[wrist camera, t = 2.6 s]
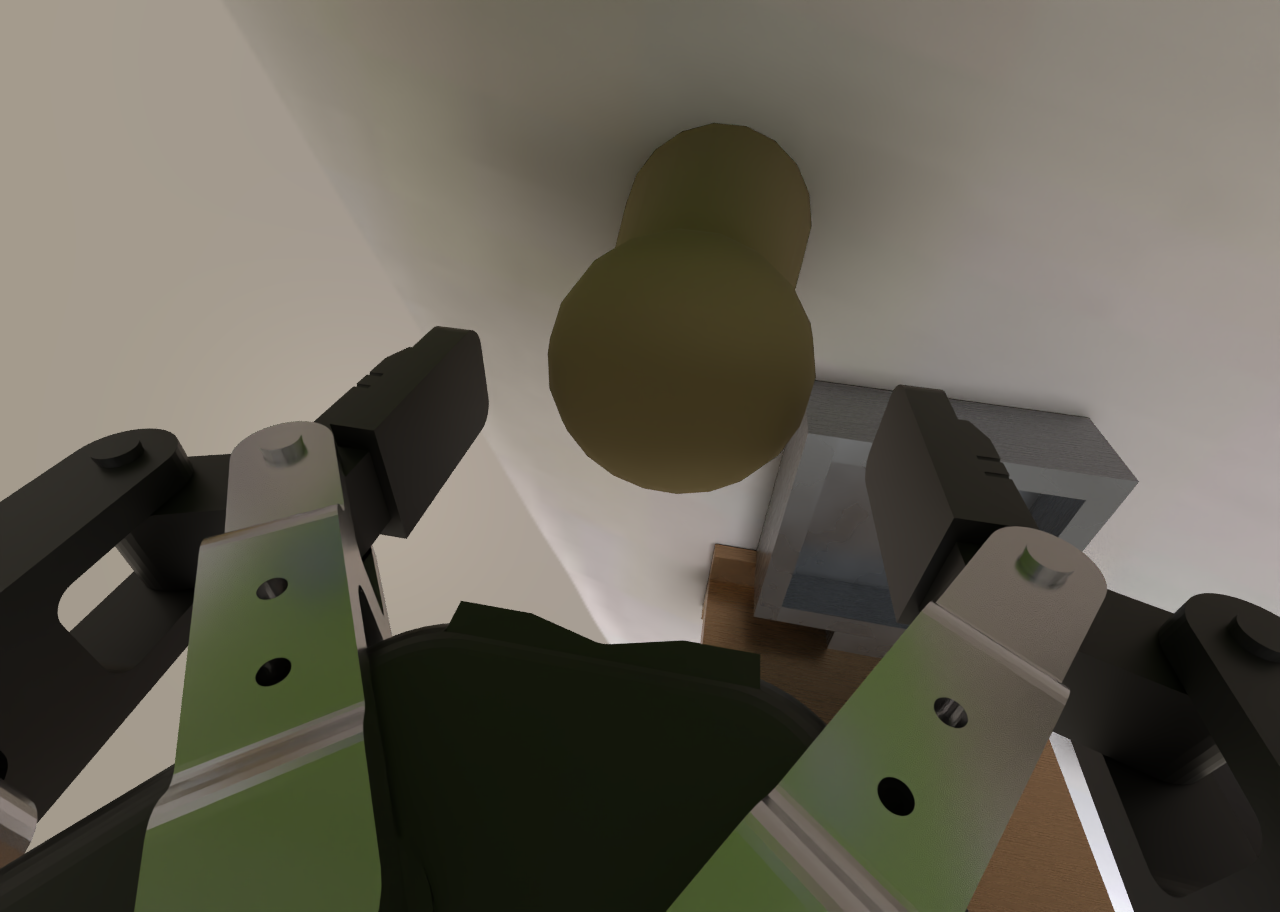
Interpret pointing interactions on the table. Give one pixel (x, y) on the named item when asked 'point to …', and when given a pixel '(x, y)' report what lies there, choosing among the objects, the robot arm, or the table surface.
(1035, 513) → the bracket
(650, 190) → the olive mushroom knob
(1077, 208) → the table surface
